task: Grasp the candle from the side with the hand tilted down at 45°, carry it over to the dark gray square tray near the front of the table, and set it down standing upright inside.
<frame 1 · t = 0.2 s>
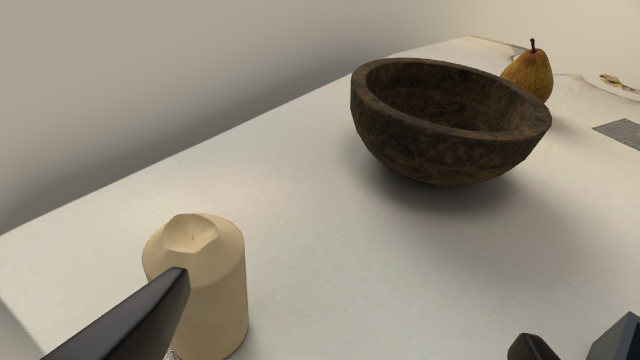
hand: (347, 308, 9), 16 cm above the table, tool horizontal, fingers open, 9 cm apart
fruit: (513, 108, 63), on the table
bowl: (422, 164, 45), on the table
candle: (210, 328, 25), on the table
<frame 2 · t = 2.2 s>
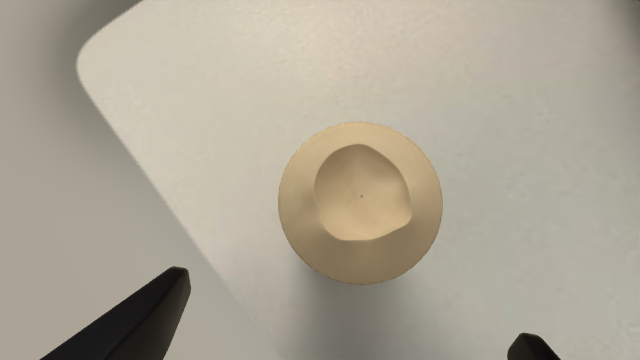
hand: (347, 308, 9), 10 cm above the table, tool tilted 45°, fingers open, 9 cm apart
candle: (347, 221, 20), on the table
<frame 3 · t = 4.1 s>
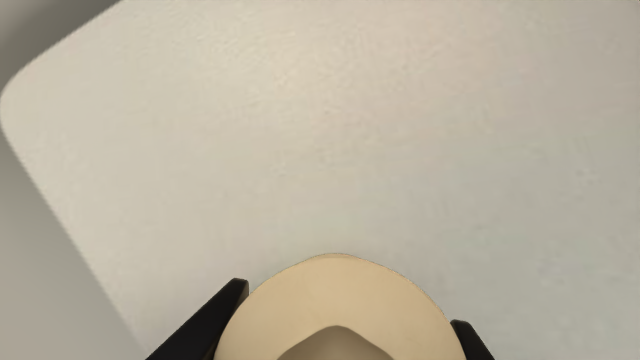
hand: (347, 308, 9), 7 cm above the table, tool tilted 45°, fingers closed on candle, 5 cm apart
candle: (334, 314, 16), on the table, touching gripper
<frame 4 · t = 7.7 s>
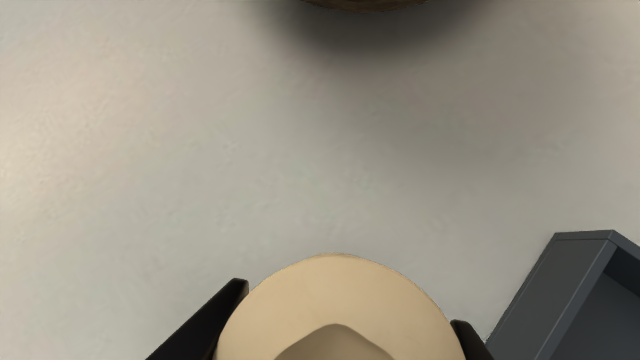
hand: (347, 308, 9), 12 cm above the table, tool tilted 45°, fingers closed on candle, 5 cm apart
candle: (334, 314, 16), point 6 cm above the table, touching gripper
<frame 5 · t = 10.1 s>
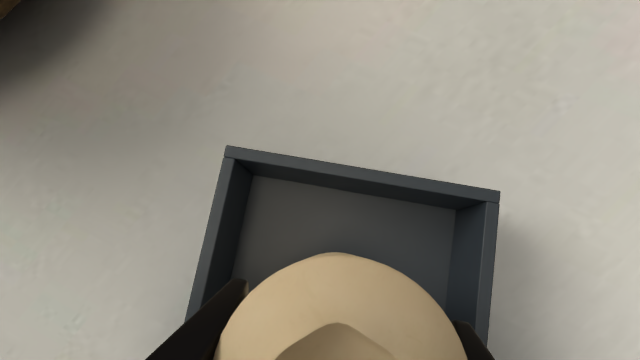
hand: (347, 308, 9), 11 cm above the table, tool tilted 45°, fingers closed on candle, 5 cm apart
dark gray square tray: (335, 296, 20), on the table
candle: (334, 313, 16), point 4 cm above the table, touching gripper
when the fingers open (7 cm above the table, at t = 11.7 s): candle stays where it is, resting on dark gray square tray.
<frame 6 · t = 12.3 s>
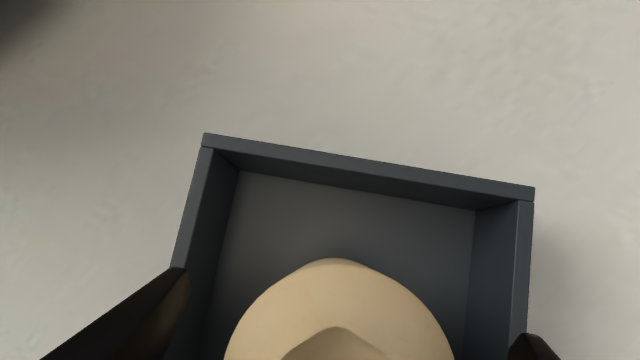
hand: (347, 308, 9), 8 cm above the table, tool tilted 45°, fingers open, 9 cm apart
dark gray square tray: (334, 312, 17), on the table
candle: (334, 316, 16), resting on dark gray square tray
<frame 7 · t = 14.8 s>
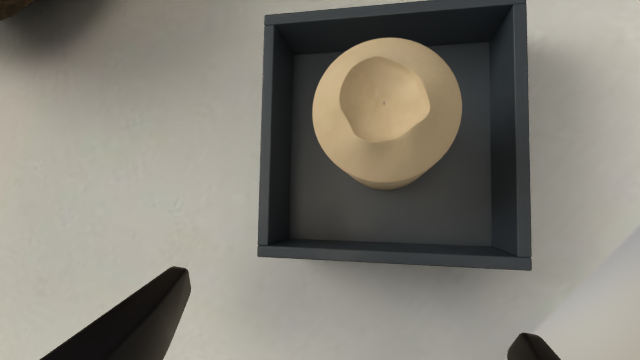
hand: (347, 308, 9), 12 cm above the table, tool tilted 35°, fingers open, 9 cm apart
dark gray square tray: (385, 145, 22), on the table
candle: (385, 146, 21), resting on dark gray square tray
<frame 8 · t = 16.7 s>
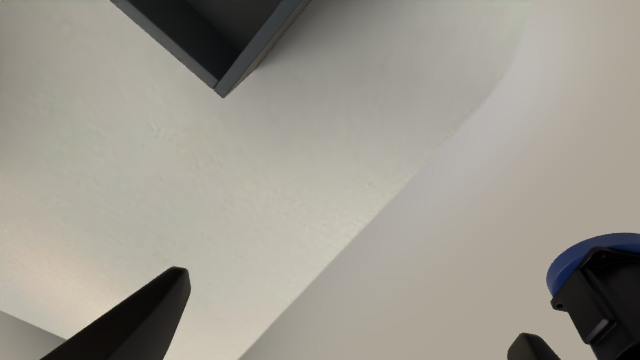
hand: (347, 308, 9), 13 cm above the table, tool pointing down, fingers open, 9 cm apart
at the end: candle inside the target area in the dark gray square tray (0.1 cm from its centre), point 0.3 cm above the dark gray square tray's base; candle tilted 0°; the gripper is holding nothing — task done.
